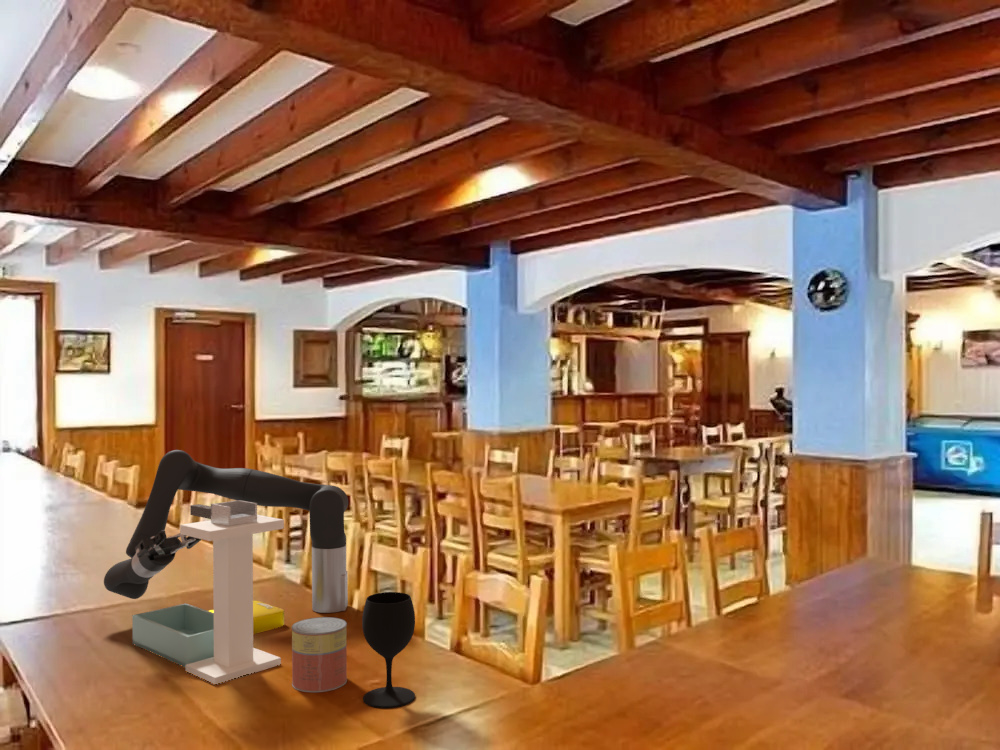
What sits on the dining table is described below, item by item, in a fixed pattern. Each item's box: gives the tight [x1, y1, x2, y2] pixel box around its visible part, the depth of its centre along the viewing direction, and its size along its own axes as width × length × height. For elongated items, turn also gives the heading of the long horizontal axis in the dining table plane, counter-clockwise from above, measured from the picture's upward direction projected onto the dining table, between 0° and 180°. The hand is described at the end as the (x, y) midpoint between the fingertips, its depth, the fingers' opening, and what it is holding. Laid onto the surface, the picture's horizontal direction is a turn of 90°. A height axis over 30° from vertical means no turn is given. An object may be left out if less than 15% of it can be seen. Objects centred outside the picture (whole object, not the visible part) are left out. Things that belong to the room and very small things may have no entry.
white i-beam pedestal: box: [179, 514, 285, 685], centre depth 185 cm, size 12×18×32 cm, turn 139°
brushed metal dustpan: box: [189, 500, 258, 527], centre depth 189 cm, size 20×7×4 cm, turn 49°
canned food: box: [291, 616, 348, 693], centre depth 177 cm, size 11×11×12 cm
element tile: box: [208, 599, 285, 635], centre depth 216 cm, size 15×15×5 cm
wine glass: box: [361, 591, 416, 709], centre depth 168 cm, size 10×10×20 cm
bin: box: [131, 603, 214, 668], centre depth 198 cm, size 26×14×7 cm, turn 49°
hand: (181, 531), depth 200 cm, fingers open, 8 cm apart
